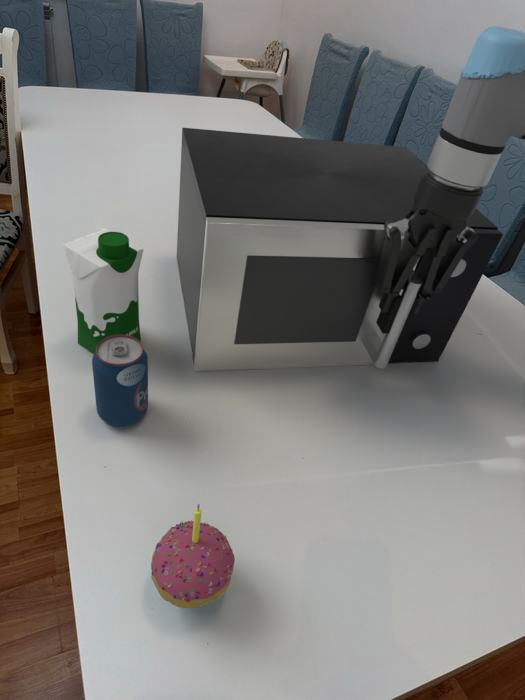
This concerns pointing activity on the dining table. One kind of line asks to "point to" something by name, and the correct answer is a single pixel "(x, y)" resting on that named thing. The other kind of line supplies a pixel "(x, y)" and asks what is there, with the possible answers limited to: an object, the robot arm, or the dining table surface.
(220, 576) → the cupcake
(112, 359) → the soda can
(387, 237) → the robot arm
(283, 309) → the microwave door
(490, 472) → the dining table surface
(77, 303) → the milk carton
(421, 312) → the microwave
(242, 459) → the dining table surface
